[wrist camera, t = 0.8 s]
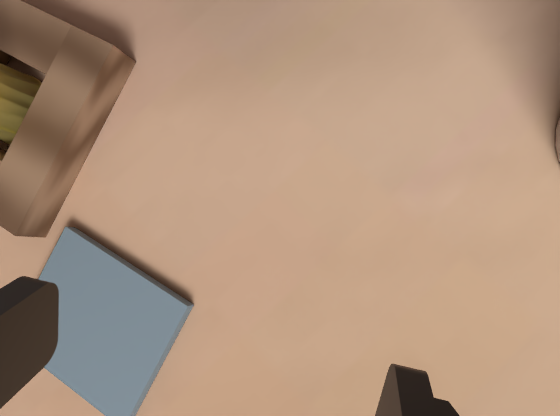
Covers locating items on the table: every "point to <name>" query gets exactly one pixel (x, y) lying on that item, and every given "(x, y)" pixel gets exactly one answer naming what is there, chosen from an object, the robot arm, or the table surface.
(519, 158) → the table surface
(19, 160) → the socket stand
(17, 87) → the vase
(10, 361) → the robot arm
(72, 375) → the slate mat
